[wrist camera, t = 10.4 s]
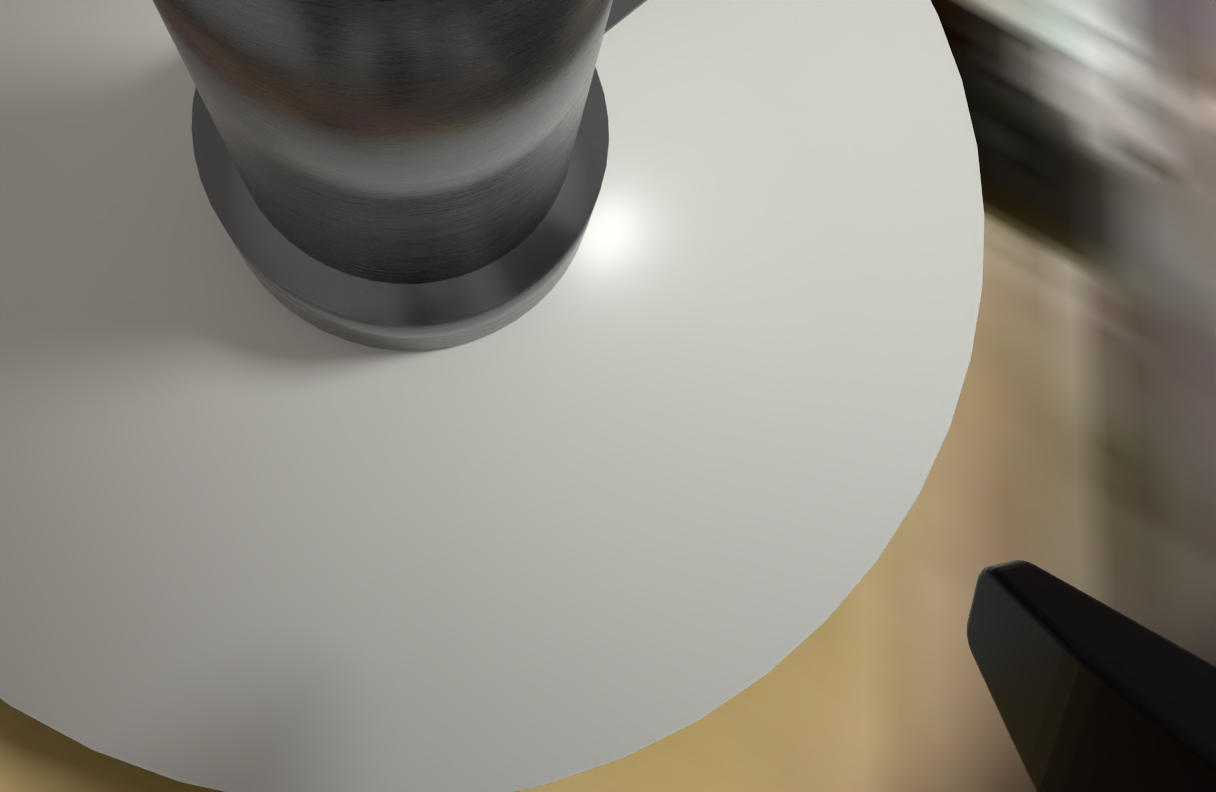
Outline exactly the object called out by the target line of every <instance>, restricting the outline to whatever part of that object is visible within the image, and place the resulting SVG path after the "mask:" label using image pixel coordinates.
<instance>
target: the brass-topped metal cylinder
mask: <svg viewBox="0 0 1216 792" xmlns="http://www.w3.org/2000/svg"><path fill="white" fill-rule="evenodd" d="M153 2H154V4H155V6H156V8H157V10H158V12H159V14H160V16H161V18H162V20H163V22H164V24H165V26H166V28H167V30H168V32H169V34H170V36H171V38H172V40H173V42H174V44H175V46H176V48H177V50H178V52H179V54H180V56H181V58H182V60H183V62H184V64H185V66H186V68H187V70H188V72H189V74H190V76H191V78H192V80H193V82H194V84H195V86H196V88H195V93H194V98H193V105H192V127H191V129H192V139H193V149H194V156H195V160H196V164H197V168H198V172H199V176H200V180H201V182H202V185H203V187H204V190H205V192H206V194H207V197H208V199H209V202H210V204H211V206H212V208H213V209H214V211H215V213H216V215H217V216H218V218H219V220H220V221H221V223H222V225H223V226H224V228H225V230H226V231H227V233H228V235H229V236H230V238H231V239H232V241H233V243H234V244H235V246H236V248H237V249H238V251H239V252H240V254H241V256H242V257H243V259H244V261H245V262H246V264H247V265H248V267H249V268H250V270H251V271H252V272H253V273H254V275H255V276H256V277H257V279H258V280H259V281H260V282H261V284H262V285H263V286H264V287H265V288H266V289H267V290H268V291H269V292H270V293H271V294H272V295H273V296H274V297H275V298H276V299H277V300H278V301H279V302H280V303H281V304H282V305H284V306H285V307H286V308H288V309H289V310H290V311H292V312H293V313H294V314H296V315H297V316H299V317H300V318H301V319H303V320H305V321H306V322H308V323H310V324H312V325H314V326H315V327H317V328H319V329H321V330H322V331H324V332H327V333H329V334H332V335H334V336H337V337H339V338H342V339H344V340H347V341H350V342H354V343H358V344H362V345H366V346H369V347H374V348H382V349H390V350H397V351H424V350H432V349H440V348H448V347H452V346H456V345H460V344H464V343H468V342H472V341H474V340H477V339H479V338H482V337H484V336H487V335H489V334H492V333H494V332H496V331H498V330H500V329H502V328H503V327H505V326H507V325H509V324H511V323H512V322H514V321H516V320H517V319H519V318H520V317H521V316H523V315H524V314H525V313H527V312H528V311H529V310H531V309H532V308H533V307H535V306H536V305H537V304H538V303H539V302H540V301H541V300H542V299H543V298H544V297H545V296H546V295H547V294H548V293H549V292H550V291H551V290H552V289H553V288H554V286H555V285H556V284H557V282H558V281H559V280H560V279H561V277H562V276H563V275H564V274H565V272H566V271H567V269H568V267H569V265H570V264H571V262H572V260H573V258H574V257H575V255H576V253H577V251H578V249H579V246H580V244H581V241H582V239H583V236H584V234H585V232H586V229H587V226H588V223H589V220H590V218H591V215H592V212H593V209H594V207H595V204H596V201H597V198H598V195H599V193H600V190H601V186H602V182H603V178H604V174H605V170H606V165H607V156H608V147H609V126H608V113H607V108H606V102H605V96H604V92H603V88H602V85H601V82H600V79H599V76H598V72H597V70H596V67H595V65H596V62H597V58H598V54H599V50H600V47H601V43H602V39H603V35H604V32H605V28H606V24H607V20H608V17H609V13H610V9H611V5H612V2H613V0H153Z"/></svg>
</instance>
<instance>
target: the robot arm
mask: <svg viewBox="0 0 1216 792" xmlns="http://www.w3.org/2000/svg"><path fill="white" fill-rule="evenodd" d="M967 638H968V643H969V646H970V649H971V652H972V654H973V657H974V659H975V661H976V663H977V665H978V667H979V670H980V672H981V674H982V676H983V678H984V680H985V683H986V685H987V687H988V689H989V691H990V693H991V696H992V698H993V700H994V702H995V704H996V707H997V709H998V711H999V713H1000V715H1001V717H1002V720H1003V722H1004V724H1005V726H1006V728H1007V730H1008V733H1009V735H1010V737H1011V739H1012V741H1013V743H1014V746H1015V748H1016V750H1017V752H1018V754H1019V756H1020V759H1021V761H1022V763H1023V765H1024V767H1025V769H1026V772H1027V774H1028V776H1029V778H1030V780H1031V782H1032V784H1033V786H1034V788H1035V790H1036V792H1216V666H1214V665H1212V664H1211V663H1209V662H1207V661H1205V660H1203V659H1202V658H1200V657H1198V656H1196V655H1194V654H1193V653H1191V652H1189V651H1187V650H1186V649H1184V648H1182V647H1180V646H1178V645H1177V644H1175V643H1173V642H1171V641H1169V640H1168V639H1166V638H1164V637H1162V636H1161V635H1159V634H1157V633H1155V632H1153V631H1152V630H1150V629H1148V628H1146V627H1144V626H1143V625H1141V624H1139V623H1137V622H1136V621H1134V620H1132V619H1130V618H1128V617H1127V616H1125V615H1123V614H1121V613H1119V612H1118V611H1116V610H1114V609H1112V608H1111V607H1109V606H1107V605H1105V604H1103V603H1102V602H1100V601H1098V600H1096V599H1094V598H1093V597H1091V596H1089V595H1087V594H1086V593H1084V592H1082V591H1080V590H1078V589H1077V588H1075V587H1073V586H1071V585H1069V584H1068V583H1066V582H1064V581H1062V580H1061V579H1059V578H1057V577H1055V576H1053V575H1052V574H1050V573H1048V572H1046V571H1044V570H1043V569H1041V568H1039V567H1037V566H1036V565H1034V564H1031V563H1029V562H1026V561H1021V560H1017V561H1011V562H1006V563H1002V564H997V565H992V566H988V567H986V568H984V569H983V570H982V572H981V573H980V574H979V576H978V579H977V584H976V588H975V592H974V597H973V601H972V605H971V610H970V614H969V619H968V623H967Z"/></svg>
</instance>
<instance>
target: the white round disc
mask: <svg viewBox="0 0 1216 792" xmlns="http://www.w3.org/2000/svg"><path fill="white" fill-rule="evenodd" d="M595 67H596V70H597V72H598V76H599V79H600V82H601V85H602V88H603V92H604V96H605V102H606V108H607V113H608V126H609V147H608V156H607V165H606V170H605V174H604V178H603V182H602V186H601V190H600V193H599V195H598V198H597V201H596V204H595V207H594V209H593V212H592V215H591V218H590V220H589V223H588V226H587V229H586V232H585V234H584V236H583V239H582V241H581V244H580V246H579V249H578V251H577V253H576V255H575V257H574V258H573V260H572V262H571V264H570V265H569V267H568V269H567V271H566V272H565V274H564V275H563V276H562V277H561V279H560V280H559V281H558V282H557V284H556V285H555V286H554V288H553V289H552V290H551V291H550V292H549V293H548V294H547V295H546V296H545V297H544V298H543V299H542V300H541V301H540V302H539V303H538V304H537V305H536V306H535V307H533V308H532V309H531V310H529V311H528V312H527V313H525V314H524V315H523V316H521V317H520V318H519V319H517V320H516V321H514V322H512V323H511V324H509V325H507V326H505V327H503V328H502V329H500V330H498V331H496V332H494V333H492V334H489V335H487V336H484V337H482V338H479V339H477V340H474V341H472V342H468V343H464V344H460V345H456V346H452V347H448V348H440V349H432V350H424V351H397V350H390V349H382V348H374V347H369V346H366V345H362V344H358V343H354V342H350V341H347V340H344V339H342V338H339V337H337V336H334V335H332V334H329V333H327V332H324V331H322V330H321V329H319V328H317V327H315V326H314V325H312V324H310V323H308V322H306V321H305V320H303V319H301V318H300V317H299V316H297V315H296V314H294V313H293V312H292V311H290V310H289V309H288V308H286V307H285V306H284V305H282V304H281V303H280V302H279V301H278V300H277V299H276V298H275V297H274V296H273V295H272V294H271V293H270V292H269V291H268V290H267V289H266V288H265V287H264V286H263V285H262V284H261V282H260V281H259V280H258V279H257V277H256V276H255V275H254V273H253V272H252V271H251V270H250V268H249V267H248V265H247V264H246V262H245V261H244V259H243V257H242V256H241V254H240V252H239V251H238V249H237V248H236V246H235V244H234V243H233V241H232V239H231V238H230V236H229V235H228V233H227V231H226V230H225V228H224V226H223V225H222V223H221V221H220V220H219V218H218V216H217V215H216V213H215V211H214V209H213V208H212V206H211V204H210V202H209V199H208V197H207V194H206V192H205V190H204V187H203V185H202V182H201V180H200V176H199V172H198V168H197V164H196V160H195V156H194V149H193V139H192V129H191V127H192V105H193V98H194V93H195V88H196V86H195V84H194V82H193V80H192V78H191V76H190V74H189V72H188V70H187V68H186V66H185V64H184V62H183V60H182V58H181V56H180V54H179V52H178V50H177V48H176V46H175V44H174V42H173V40H172V38H171V36H170V34H169V32H168V30H167V28H166V26H165V24H164V22H163V20H162V18H161V16H160V14H159V12H158V10H157V8H156V6H155V4H154V2H153V0H0V699H2V700H3V701H4V702H6V703H7V704H9V705H10V706H12V707H13V708H15V709H17V710H19V711H21V712H23V713H25V714H26V715H28V716H30V717H32V718H34V719H36V720H38V721H39V722H41V723H43V724H45V725H47V726H49V727H51V728H53V729H54V730H56V731H58V732H60V733H62V734H64V735H66V736H67V737H69V738H71V739H73V740H75V741H77V742H79V743H80V744H82V745H84V746H86V747H88V748H90V749H92V750H94V751H97V752H99V753H102V754H105V755H108V756H110V757H113V758H116V759H119V760H121V761H124V762H127V763H129V764H132V765H135V766H138V767H140V768H143V769H146V770H148V771H151V772H154V773H157V774H159V775H162V776H165V777H168V778H170V779H173V780H176V781H178V782H182V783H187V784H191V785H196V786H201V787H205V788H210V789H214V790H219V791H224V792H514V791H519V790H524V789H529V788H534V787H539V786H543V785H546V784H549V783H552V782H555V781H558V780H560V779H563V778H566V777H569V776H572V775H575V774H578V773H581V772H584V771H587V770H590V769H593V768H596V767H599V766H602V765H604V764H607V763H610V762H613V761H616V760H619V759H622V758H624V757H626V756H628V755H630V754H632V753H634V752H636V751H638V750H640V749H642V748H644V747H646V746H648V745H650V744H652V743H654V742H656V741H658V740H660V739H662V738H664V737H666V736H668V735H670V734H672V733H674V732H676V731H678V730H680V729H682V728H684V727H686V726H688V725H690V724H692V723H694V722H696V721H698V720H700V719H702V718H703V717H705V716H706V715H708V714H709V713H710V712H712V711H713V710H715V709H716V708H718V707H719V706H721V705H722V704H724V703H725V702H727V701H728V700H730V699H731V698H732V697H734V696H735V695H737V694H738V693H740V692H741V691H743V690H744V689H746V688H747V687H749V686H750V685H751V684H753V683H754V682H756V681H757V680H759V679H760V678H762V677H763V676H765V675H766V674H768V673H769V672H770V671H771V670H772V669H773V668H774V667H775V666H777V665H778V664H779V663H780V662H781V661H782V660H783V659H784V658H785V657H786V656H788V655H789V654H790V653H791V652H792V651H793V650H794V649H795V648H796V647H798V646H799V645H800V644H801V643H802V642H803V641H804V640H805V639H806V638H808V637H809V636H810V635H811V634H812V633H813V632H814V631H815V630H816V629H817V628H819V627H820V626H821V625H822V624H823V623H824V622H825V621H826V620H827V619H828V618H829V617H830V616H831V615H832V614H833V612H834V611H835V610H836V609H837V608H838V606H839V605H840V604H841V603H842V602H843V601H844V599H845V598H846V597H847V596H848V595H849V593H850V592H851V591H852V590H853V589H854V587H855V586H856V585H857V584H858V583H859V582H860V580H861V579H862V578H863V577H864V576H865V574H866V573H867V572H868V571H869V570H870V568H871V567H872V566H873V565H874V564H875V563H876V561H877V560H878V559H879V557H880V556H881V554H882V553H883V551H884V549H885V548H886V546H887V545H888V543H889V541H890V540H891V538H892V537H893V535H894V534H895V532H896V530H897V529H898V527H899V526H900V524H901V522H902V521H903V519H904V518H905V516H906V515H907V513H908V511H909V510H910V508H911V507H912V505H913V504H914V502H915V500H916V499H917V497H918V496H919V494H920V491H921V489H922V487H923V485H924V483H925V481H926V478H927V476H928V474H929V472H930V470H931V467H932V465H933V463H934V461H935V459H936V456H937V454H938V452H939V450H940V448H941V445H942V443H943V441H944V439H945V437H946V435H947V432H948V430H949V428H950V425H951V422H952V418H953V415H954V412H955V408H956V405H957V402H958V399H959V395H960V392H961V389H962V385H963V382H964V379H965V375H966V372H967V369H968V365H969V362H970V359H971V354H972V348H973V341H974V335H975V329H976V323H977V317H978V310H979V304H980V298H981V292H982V279H983V243H984V209H983V199H982V189H981V180H980V170H979V160H978V150H977V144H976V140H975V135H974V131H973V127H972V123H971V118H970V114H969V110H968V105H967V101H966V97H965V92H964V88H963V84H962V80H961V77H960V74H959V71H958V69H957V66H956V63H955V61H954V58H953V55H952V52H951V50H950V47H949V44H948V41H947V39H946V36H945V33H944V31H943V28H942V25H941V22H940V20H939V17H938V14H937V13H936V11H935V9H934V7H933V5H932V3H931V1H930V0H613V2H612V5H611V9H610V13H609V17H608V20H607V24H606V28H605V32H604V35H603V39H602V43H601V47H600V50H599V54H598V58H597V62H596V65H595Z"/></svg>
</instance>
